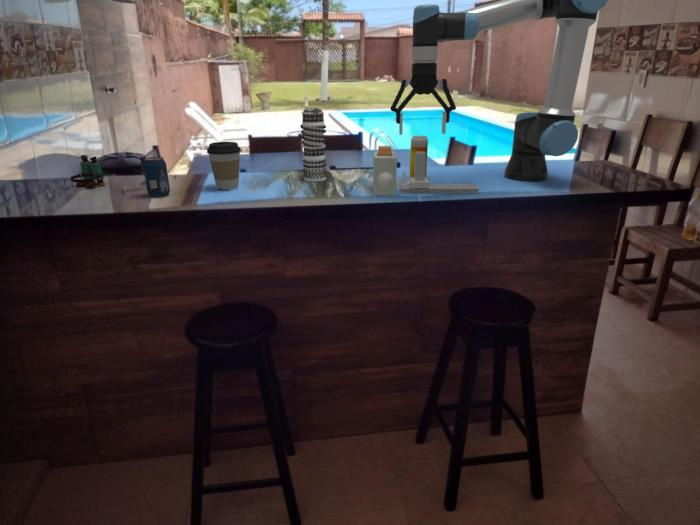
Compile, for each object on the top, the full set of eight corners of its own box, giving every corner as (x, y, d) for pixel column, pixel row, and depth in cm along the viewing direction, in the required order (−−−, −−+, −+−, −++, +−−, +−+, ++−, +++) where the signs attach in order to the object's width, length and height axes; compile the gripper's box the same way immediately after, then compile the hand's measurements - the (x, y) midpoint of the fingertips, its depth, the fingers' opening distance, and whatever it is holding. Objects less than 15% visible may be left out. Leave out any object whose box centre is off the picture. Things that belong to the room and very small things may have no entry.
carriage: (426, 183, 168) (428, 150, 164) (429, 188, 162) (431, 154, 158) (408, 183, 168) (410, 150, 164) (410, 188, 162) (412, 154, 158)
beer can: (425, 180, 181) (427, 137, 175) (408, 179, 182) (410, 137, 176) (426, 176, 186) (428, 135, 181) (410, 175, 188) (411, 135, 182)
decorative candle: (318, 182, 178) (316, 109, 169) (297, 179, 183) (294, 108, 173) (332, 177, 185) (331, 107, 176) (312, 175, 190) (309, 106, 180)
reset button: (390, 161, 164) (390, 145, 162) (391, 163, 160) (391, 147, 159) (378, 161, 164) (378, 145, 162) (378, 163, 161) (379, 147, 159)
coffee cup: (229, 182, 179) (224, 140, 173) (251, 186, 173) (248, 142, 167) (203, 189, 170) (198, 144, 164) (226, 193, 164) (221, 147, 158)
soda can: (153, 192, 166) (147, 156, 161) (173, 192, 165) (168, 156, 161) (144, 198, 159) (138, 160, 155) (165, 198, 159) (160, 160, 154)
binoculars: (60, 161, 167) (85, 153, 175) (69, 190, 172) (93, 182, 180) (78, 162, 164) (103, 154, 172) (87, 193, 169) (111, 184, 177)
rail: (473, 188, 169) (473, 183, 168) (478, 193, 162) (478, 188, 162) (399, 188, 169) (399, 184, 169) (401, 193, 163) (401, 189, 162)
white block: (393, 186, 171) (394, 151, 167) (395, 195, 160) (397, 158, 155) (373, 186, 172) (373, 151, 167) (374, 195, 160) (374, 158, 156)
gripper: (463, 61, 154) (459, 131, 162) (382, 63, 155) (382, 133, 163) (468, 61, 147) (463, 134, 155) (383, 63, 148) (383, 136, 156)
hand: (422, 134), depth 159 cm, fingers open, 13 cm apart
